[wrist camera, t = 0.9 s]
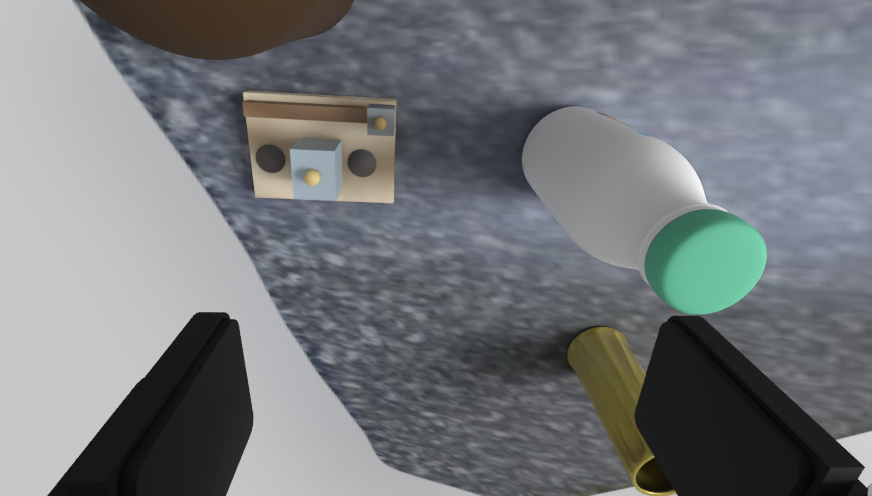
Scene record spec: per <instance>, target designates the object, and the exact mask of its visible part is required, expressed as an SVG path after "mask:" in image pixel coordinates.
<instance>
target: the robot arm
mask: <svg viewBox="0 0 872 496" xmlns="http://www.w3.org/2000/svg"><path fill="white" fill-rule="evenodd" d="M634 418H635V423H636V426H637V428H638V430H639V432H640V434H641V435H642V437H643V439H644V440H645V442H646V444H647V445H648V447H649V449H650V450H651V452H652V454H653V455H654V457H655V459H656V460H657V462H658V464H659V465H660V467H661V469H662V470H663V472H664V474H665V475H666V477H667V479H668V480H669V482H670V484H671V485H672V487H673V489H674V490H675V492H676V494H677V495H678V496H872V484H870V485H869V486H868V488H867V487H865V486H864V485H863V484H862V483H861V482H860V481H859V480H858V477H859V475H860V474H861V473H862V470H863V469H864V468H865V467H864V466H863V465H862V464H861V463H860V462H859V461H858V460H857V459H855V458H854V457H853V456H852V455H851V454H850V453H849V452H848V451H847V450H846V449H845V448H844V447H842V446H841V445H840V444H839V443H838V442H837V441H836V440H835V439H834V438H833V437H832V436H831V435H829V434H828V433H827V432H826V431H825V430H824V429H823V428H822V427H821V426H820V425H819V424H817V423H816V422H815V421H814V420H813V419H812V418H811V417H810V416H809V415H808V414H807V413H806V412H804V411H803V410H802V409H801V408H800V407H799V406H798V405H797V404H796V403H795V402H794V401H793V400H791V399H790V398H789V397H788V396H787V395H786V394H785V393H784V392H783V391H782V390H781V389H779V388H778V387H777V386H776V385H775V384H774V383H773V382H772V381H771V380H770V379H769V378H768V377H766V376H765V375H764V374H763V373H762V372H761V371H760V370H759V369H758V368H757V367H756V366H755V365H753V364H752V363H751V362H750V361H749V360H748V359H747V358H746V357H745V356H744V355H743V354H742V353H740V352H739V351H738V350H737V349H736V348H735V347H734V346H733V345H732V344H731V343H730V342H728V341H727V340H726V339H725V338H724V337H723V336H722V335H721V334H720V333H719V332H718V331H717V330H715V329H714V328H713V327H712V326H711V325H710V324H709V323H708V322H707V321H706V320H705V319H703V318H702V317H700V316H672V317H670V318H669V319H668V321H667V322H665V323H663V324H662V325H661V327H660V330H659V333H658V336H657V340H656V343H655V346H654V349H653V353H652V356H651V359H650V363H649V366H648V369H647V373H646V376H645V379H644V382H643V386H642V389H641V392H640V396H639V399H638V402H637V406H636V409H635V413H634ZM252 427H253V410H252V404H251V398H250V392H249V385H248V379H247V373H246V367H245V361H244V355H243V348H242V342H241V336H240V330H239V325H238V322H237V320H235V319H230V317H229V315H228V314H227V313H225V312H220V313H219V312H199V313H196V314H195V315H194V316H193V317H192V318H191V319H190V321H189V322H188V323H187V325H186V326H185V327H184V328H183V330H182V331H181V332H180V333H179V335H178V336H177V337H176V339H175V340H174V341H173V342H172V344H171V345H170V346H169V347H168V349H167V350H166V351H165V352H164V354H163V355H162V356H161V357H160V359H159V360H158V361H157V363H156V364H155V365H154V366H153V368H152V369H151V370H150V371H149V373H148V374H147V375H146V377H145V378H143V379H141V380H140V382H138V383H137V384H136V385H135V387H134V388H133V389H132V390H131V392H130V393H129V394H128V395H127V397H126V398H125V399H124V400H123V402H122V403H121V404H120V405H119V407H118V408H117V409H116V410H115V412H114V413H113V414H112V415H111V417H110V418H109V419H108V420H107V422H106V423H105V424H104V426H103V427H102V428H101V429H100V430H99V432H98V433H97V434H96V436H95V437H94V438H93V439H92V441H91V442H90V443H89V444H88V446H87V447H86V448H85V449H84V451H83V452H82V453H81V454H80V456H79V457H78V458H77V459H76V461H75V462H74V463H73V464H72V466H71V467H70V468H69V469H68V471H67V472H66V473H65V474H64V476H63V477H62V478H61V480H60V481H59V482H58V483H57V485H56V486H55V487H54V488H53V489H52V491H51V492H50V493H49V494H48V496H226V494H227V492H228V489H229V486H230V484H231V482H232V479H233V476H234V474H235V472H236V469H237V467H238V464H239V462H240V459H241V457H242V454H243V452H244V449H245V447H246V444H247V442H248V439H249V437H250V434H251V431H252Z"/></svg>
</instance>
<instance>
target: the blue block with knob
mask: <svg viewBox="0 0 872 496" xmlns="http://www.w3.org/2000/svg"><path fill="white" fill-rule="evenodd" d="M290 159H291V171H292V184H293V196H294V199H303V200H327V201H336V200H337V198H338V196H339V194H340V191H341V189H342V187H343V169H342V140H332V139H313V138H301V139H300V140H299V141H297V142H296V143H295V144H294V145H293V146H292V147H291V148H290Z"/></svg>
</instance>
